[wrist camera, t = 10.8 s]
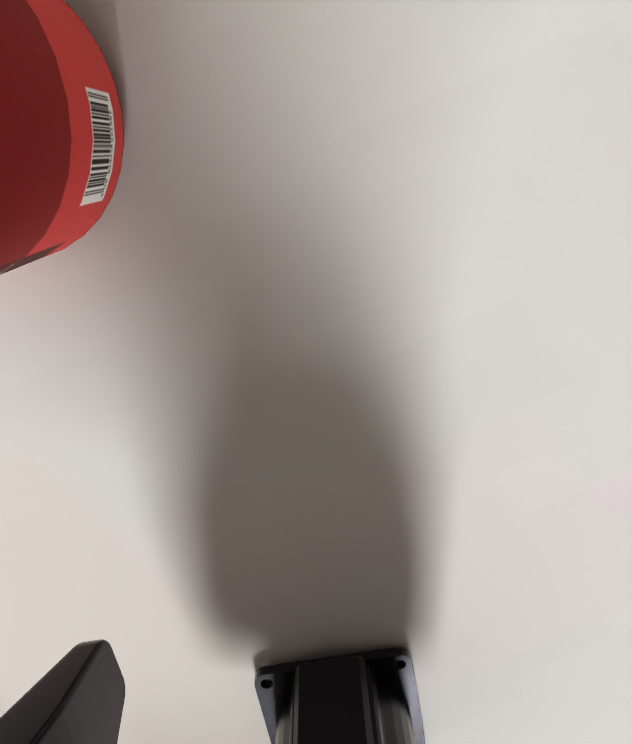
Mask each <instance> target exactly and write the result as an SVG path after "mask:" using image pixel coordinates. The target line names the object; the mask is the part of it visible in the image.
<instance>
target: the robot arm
mask: <svg viewBox="0 0 632 744" xmlns="http://www.w3.org/2000/svg"><path fill="white" fill-rule="evenodd" d="M397 660H402V661H397ZM265 679H269V680H265ZM255 688H256V692H257V695H258V699H259V702H260V706H261V709H262V712H263V716H264V719H265V723H266V726H267V730H268V733H269V736H270V740H271V743H272V744H425V739H424V733H423V727H422V721H421V715H420V708H419V702H418V696H417V690H416V684H415V678H414V672H413V666H412V660H411V655H410V653H409V651H408V650H407V649H405V648H402V647H396V648H389V649H383V650H376V651H369V652H362V653H355V654H348V655H342V656H335V657H328V658H321V659H314V660H308V661H301V662H294V663H287V664H280V665H274V666H267V667H263V668H260V669H259V670H257V672H256V674H255ZM124 699H125V683H124V678H123V676H122V673H121V670H120V668H119V665H118V663H117V660H116V658H115V655H114V653H113V650H112V648H111V646H110V644H109V643H108V642H107V641H106V640H95V641H88V642H82V643H79V644H78V645H76V646H75V647H74V648H73V649H72V650H71V651H70V652H68V653H67V654H66V655H65V656H64V657H63V658H62V659H61V660H60V661H59V662H58V663H57V664H56V665H55V666H54V667H53V668H52V669H51V670H50V671H49V672H48V673H47V674H46V675H44V676H43V677H42V678H41V679H40V680H39V681H38V682H37V683H36V684H35V685H34V686H33V687H32V688H31V689H30V690H29V691H28V692H27V693H26V694H25V695H24V696H23V697H22V698H20V699H19V700H18V701H17V702H16V703H15V704H14V705H13V706H12V707H11V708H10V709H9V710H8V711H7V712H6V713H5V714H4V715H3V716H2V717H1V718H0V744H117V740H118V734H119V728H120V722H121V717H122V711H123V705H124Z"/></svg>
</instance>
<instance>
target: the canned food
mask: <svg viewBox="0 0 632 744" xmlns="http://www.w3.org/2000/svg"><path fill="white" fill-rule="evenodd" d="M123 145H124V135H123V121H122V111H121V107H120V103H119V99H118V95H117V91H116V87H115V83H114V80H113V77H112V75H111V73H110V70H109V68H108V66H107V63H106V61H105V59H104V56H103V54H102V52H101V50H100V48H99V47H98V45H97V43H96V42H95V40H94V39H93V37H92V35H91V34H90V32H89V31H88V29H87V27H86V26H85V24H84V23H83V21H82V20H81V19H80V18H79V17H78V16H77V15H76V13H75V12H74V11H73V10H72V9H71V8H70V7H69V6H68V4H67V3H66V2H65V1H64V0H0V274H3V273H5V272H8V271H10V270H13V269H15V268H18V267H20V266H23V265H25V264H27V263H30V262H32V261H35V260H37V259H40V258H42V257H45V256H47V255H50V254H52V253H55V252H57V251H60V250H62V249H65V248H66V247H67V246H69V245H70V244H72V243H73V242H75V241H76V240H78V239H79V238H81V237H82V236H84V235H85V234H86V232H87V231H88V230H89V229H90V228H91V227H92V226H93V225H94V224H95V223H96V221H97V220H98V219H99V218H100V217H101V215H102V213H103V212H104V210H105V208H106V206H107V205H108V203H109V201H110V199H111V197H112V196H113V193H114V190H115V186H116V183H117V180H118V177H119V174H120V170H121V163H122V154H123Z"/></svg>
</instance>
